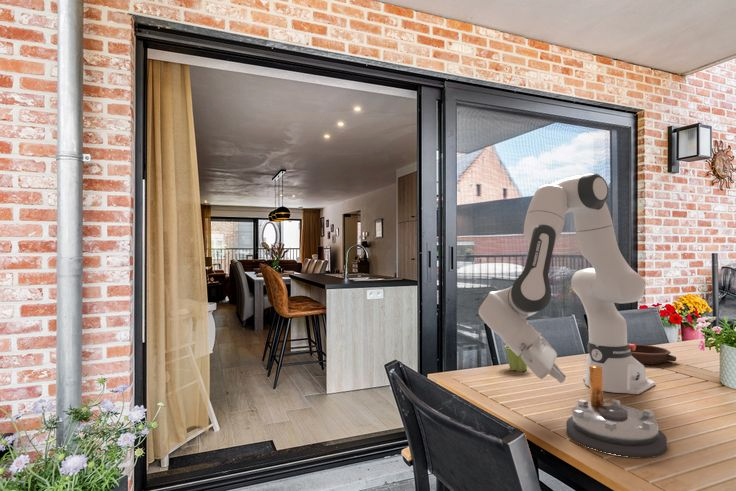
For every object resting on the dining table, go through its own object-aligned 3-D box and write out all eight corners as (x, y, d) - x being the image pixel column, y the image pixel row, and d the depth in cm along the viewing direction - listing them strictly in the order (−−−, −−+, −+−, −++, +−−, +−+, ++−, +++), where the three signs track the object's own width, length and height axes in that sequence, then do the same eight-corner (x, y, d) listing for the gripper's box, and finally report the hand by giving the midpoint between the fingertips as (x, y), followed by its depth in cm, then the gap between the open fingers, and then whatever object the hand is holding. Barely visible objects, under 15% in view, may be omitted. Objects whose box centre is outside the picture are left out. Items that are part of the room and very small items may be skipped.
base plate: (601, 414, 116) (601, 407, 116) (686, 444, 97) (686, 436, 97) (548, 430, 107) (547, 423, 107) (630, 467, 88) (630, 458, 88)
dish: (677, 370, 155) (677, 356, 155) (609, 362, 167) (608, 350, 167) (675, 359, 169) (675, 346, 169) (612, 353, 182) (612, 341, 182)
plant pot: (501, 366, 166) (500, 344, 166) (524, 365, 166) (523, 343, 166) (511, 373, 156) (510, 350, 156) (535, 372, 157) (534, 348, 157)
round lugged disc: (602, 409, 114) (601, 361, 114) (675, 434, 98) (673, 378, 98) (556, 422, 106) (554, 371, 107) (627, 452, 90) (625, 391, 90)
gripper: (526, 341, 108) (570, 383, 103) (537, 327, 126) (574, 363, 121) (509, 356, 110) (551, 399, 106) (522, 341, 128) (558, 377, 123)
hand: (563, 380), depth 114 cm, fingers closed
